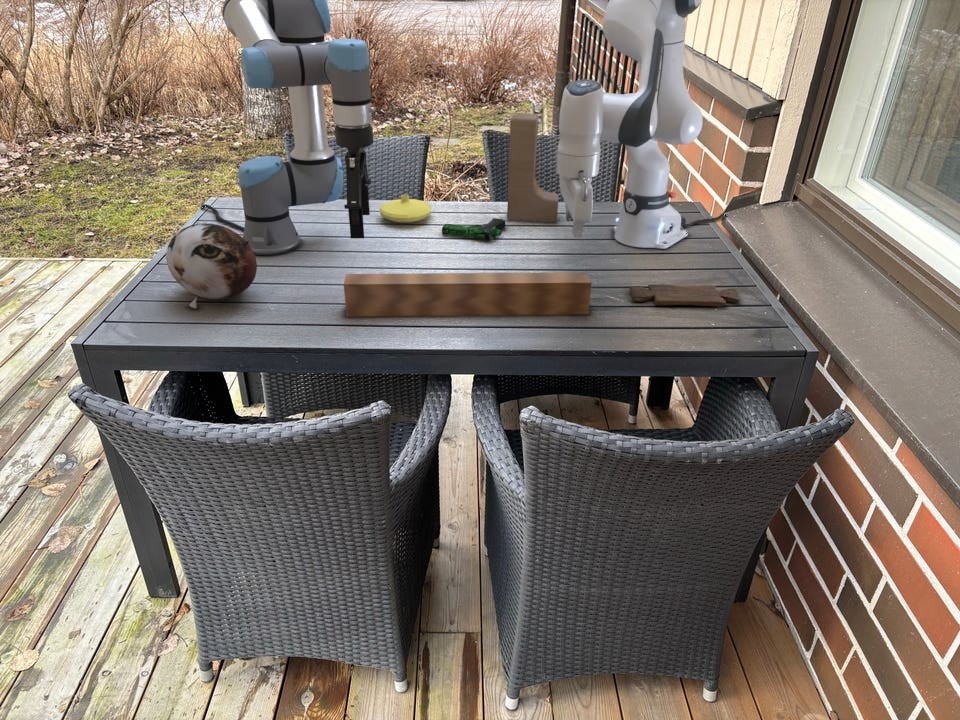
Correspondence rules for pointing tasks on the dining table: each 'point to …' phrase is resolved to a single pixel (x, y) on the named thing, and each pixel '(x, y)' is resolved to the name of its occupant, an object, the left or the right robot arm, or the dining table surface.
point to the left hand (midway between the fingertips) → (360, 225)
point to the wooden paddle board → (684, 295)
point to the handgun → (476, 230)
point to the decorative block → (527, 174)
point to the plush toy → (211, 261)
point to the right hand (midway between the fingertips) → (573, 227)
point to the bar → (467, 294)
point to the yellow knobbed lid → (405, 210)
